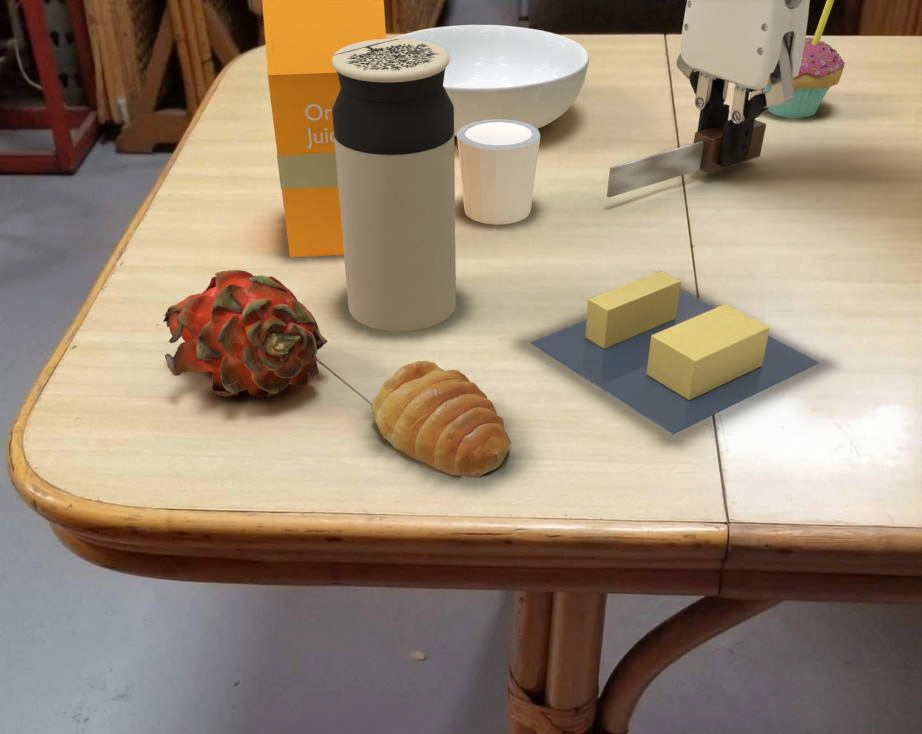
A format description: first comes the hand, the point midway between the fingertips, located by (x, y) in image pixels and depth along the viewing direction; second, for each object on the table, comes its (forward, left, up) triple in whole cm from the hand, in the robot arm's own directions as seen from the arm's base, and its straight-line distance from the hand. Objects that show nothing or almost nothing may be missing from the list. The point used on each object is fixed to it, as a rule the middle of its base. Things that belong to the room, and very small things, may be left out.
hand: (720, 156), depth 97 cm
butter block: (+26, +23, -1) cm, 35 cm away
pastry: (+44, +18, -2) cm, 48 cm away
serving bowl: (+9, -24, -2) cm, 26 cm away
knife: (+5, 0, -1) cm, 5 cm away
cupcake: (-18, -7, -2) cm, 19 cm away
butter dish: (+26, +20, -2) cm, 33 cm away
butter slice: (+26, +16, -1) cm, 31 cm away
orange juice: (+34, -10, -2) cm, 35 cm away
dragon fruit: (+51, +5, -2) cm, 51 cm away
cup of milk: (+21, -6, -2) cm, 22 cm away
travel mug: (+37, +3, -2) cm, 37 cm away
